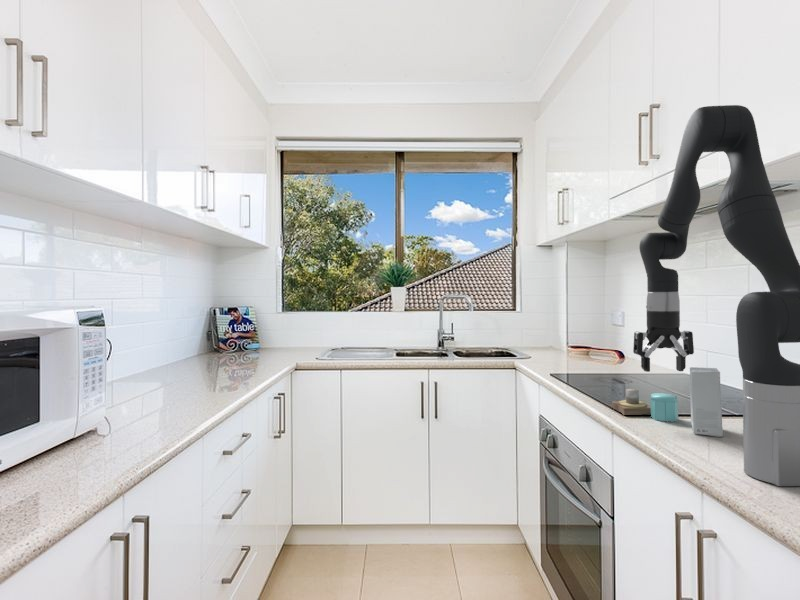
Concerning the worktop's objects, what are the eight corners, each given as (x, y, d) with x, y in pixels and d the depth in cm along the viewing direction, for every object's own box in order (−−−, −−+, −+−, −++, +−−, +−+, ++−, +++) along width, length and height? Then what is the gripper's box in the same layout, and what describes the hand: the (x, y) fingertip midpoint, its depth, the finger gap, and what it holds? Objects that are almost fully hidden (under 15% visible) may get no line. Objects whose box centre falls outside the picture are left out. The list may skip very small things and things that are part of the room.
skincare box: (723, 437, 105) (722, 372, 105) (691, 434, 108) (691, 370, 108) (719, 428, 112) (718, 366, 112) (689, 425, 115) (689, 365, 115)
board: (654, 415, 124) (654, 393, 124) (624, 415, 124) (623, 393, 124) (640, 408, 132) (640, 387, 132) (611, 408, 132) (611, 387, 132)
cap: (682, 421, 118) (682, 398, 118) (658, 421, 118) (658, 398, 118) (669, 415, 124) (669, 393, 124) (646, 415, 124) (646, 393, 124)
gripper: (641, 310, 117) (642, 374, 118) (699, 309, 117) (699, 373, 117) (628, 309, 125) (629, 369, 125) (682, 308, 124) (683, 368, 124)
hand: (663, 371), depth 121 cm, fingers open, 8 cm apart
